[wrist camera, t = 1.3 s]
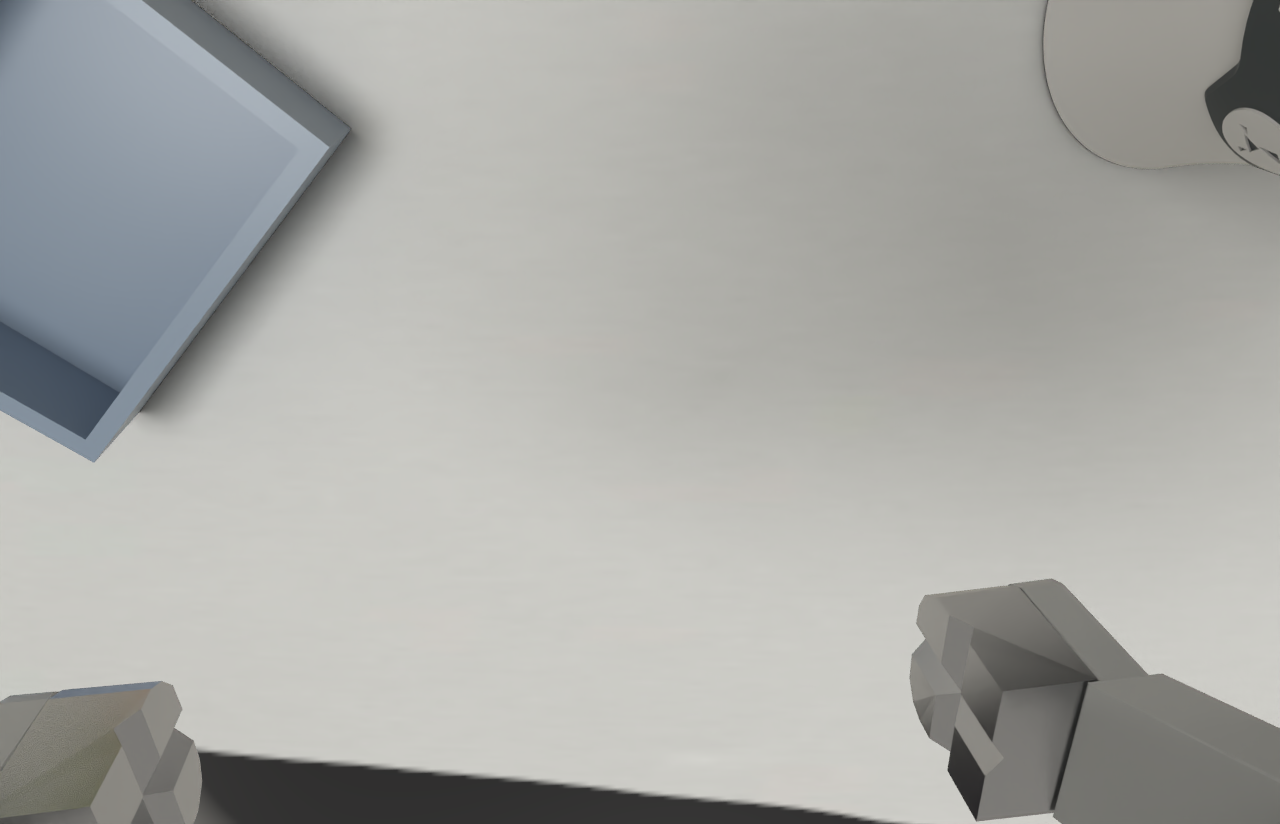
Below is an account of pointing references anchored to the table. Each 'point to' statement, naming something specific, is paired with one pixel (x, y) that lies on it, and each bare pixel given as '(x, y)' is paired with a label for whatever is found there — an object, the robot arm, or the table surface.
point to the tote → (131, 197)
